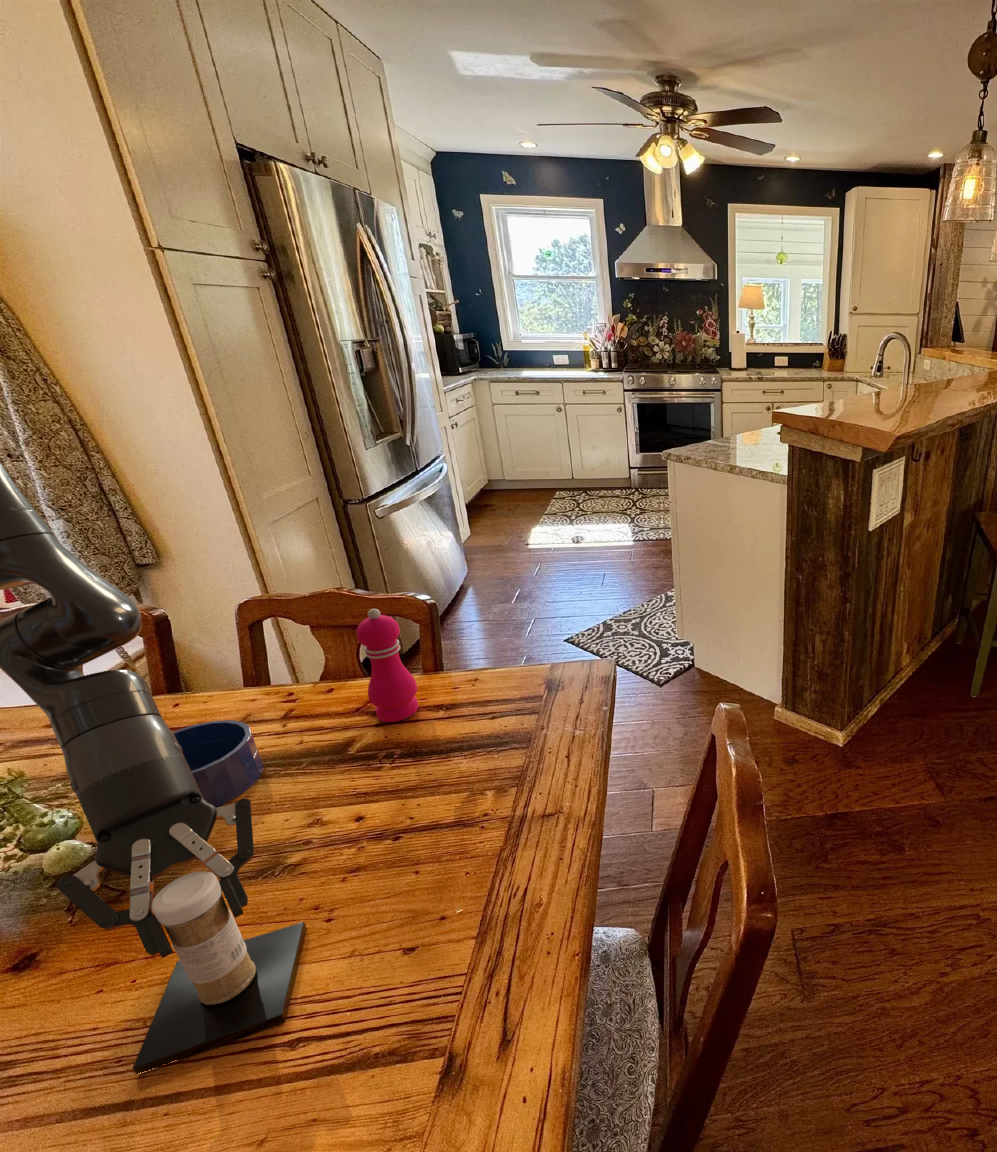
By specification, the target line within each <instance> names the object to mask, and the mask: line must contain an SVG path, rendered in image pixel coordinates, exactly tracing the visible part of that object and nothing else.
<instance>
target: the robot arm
mask: <svg viewBox="0 0 997 1152" xmlns="http://www.w3.org/2000/svg"><path fill="white" fill-rule="evenodd" d="M32 584H35V585H36V586H38V587H40V588H41V589H43V590H45V591H46V592H47V593H48V595H49V596H50V597H48V598H46V599H43V600H41V601H39V602H37V603H35V604H32V605H30V606H28V607H26V608H24V609H22V610H20V611H17V612H14V613H13V614H11V615H8V616H7V617H5V618H3V619H1V620H0V670H1V671H2V672H3V673H4V674H5V675H6V676H7V677H8V678H10V679H11V680H12V681H13V682H14V683H15V684H16V685H17V686H18V687H19V688H20V689H21V690H22V691H23V692H24V693H25V694H26V695H27V696H28V697H29V698H30V699H31V700H32V701H33V702H34V703H35V704H36V705H37V706H38V707H39V708H40V710H41V711H42V712H43V713H44V714H45V715H46V716H47V718H48V720H49V723H50V726H51V729H52V731H53V733H54V736H55V738H56V740H57V743H58V745H59V747H60V749H61V751H62V754H63V758H64V764H65V769H66V773H67V775H68V778H69V781H70V788H71V790H72V791H73V792H74V793H75V795H76V796H77V799H78V801H79V805H80V806H81V808H82V811H83V813H84V815H85V818H86V820H87V823H88V825H89V828H90V830H91V832H92V834H93V837H94V839H95V841H96V844H97V847H96V848H97V849H96V852H95V854H94V860H93V861H92V862H89V864H87V865H85V866H84V867H83V868H81V869H79V870H77V872H75V873H73V874H70V875H65V876H64V877H61V878H60V879H59V880H58V881H57V883H56V888H57V889H58V890H59V891H60V892H61V893H62V894H63V895H64V896H65V897H66V898H68V900H70V901H71V902H72V903H73V904H74V905H75V906H76V907H77V908H78V909H80V911H82V913H84V914H85V915H86V916H87V917H88V918H89V919H90V920H91V921H93V922H94V923H95V924H96V925H97V926H98V927H99V928H101V929H103V930H105V931H113V930H114V931H115V930H116V929H119V928H122V927H126V926H133V927H135V929H136V932H137V934H138V936H139V939H140V941H141V944H142V946H143V948H144V951H145V953H147V954H149V955H150V956H152V957H154V956H156V955H158V954H159V956H160V957H161V958H162V959H165V958H166V957H168V956H169V955H172V954H173V953H174V950H173V946H172V945H171V943H170V941H169V937H168V936H167V934H166V930H165V928H164V926H163V925H162V924H160V923H159V922H158V920H157V918H156V917H155V915H154V912H153V910H152V902H153V899H154V898H153V895H154V887H155V879H158V878H160V877H162V876H164V875H166V874H167V873H168V872H170V871H171V870H173V869H175V868H176V867H179V866H183V865H187V864H189V863H191V862H193V861H195V860H196V861H198V862H199V863H200V864H201V865H202V866H204V867H205V868H207V869H208V870H209V872H211V873H213V874H214V875H215V876H216V877H217V878H218V879H219V880H218V881H219V884H220V887H221V889H222V894H223V895H224V899H225V900H226V902H227V904H228V908H229V910H230V911H231V913H232V915H233V917H234V919H237V918H238V917H241V916H242V915H244V914H245V913H244V910H243V908H245V907H246V906H248V904H249V902H248V901H249V897H248V895H247V892H246V891H245V888H244V886H243V884H242V881H241V879H240V877H239V871H240V870H241V869H242V868H243V867H244V866H245V865H246V864H248V863H249V862H251V861H252V860H253V859H254V857H255V849H254V848H255V847H254V846H255V845H254V832H253V819H252V804H251V800H250V799H249V798H245V797H244V798H240V799H238V800H237V801H236V802H235V803H230V804H226V805H220V806H218V807H216V808H215V807H214V806H213V805H211V804H209V803H208V802H206V801H205V800H204V798H203V796H202V794H201V792H200V790H199V788H198V785H197V783H196V781H195V779H194V777H193V774H192V772H191V770H190V768H189V766H188V764H187V761H186V759H185V757H184V755H183V753H182V748H181V746H180V745H179V744H178V742H177V740H176V738H175V736H174V734H173V733H172V732H173V731H172V729H171V728H170V727H169V726H168V724H167V723H166V721H165V719H164V718H163V716H162V714H161V712H160V709H159V707H158V705H157V703H156V701H155V699H154V697H153V694H152V691H151V690H150V688H149V685H148V683H147V681H146V680H145V678H144V677H143V676H142V675H141V674H139V673H138V672H136V671H133V670H130V669H111V670H110V669H109V670H102V671H98V672H93V673H89V674H84V672H83V670H82V666H84V665H86V664H87V663H89V662H92V661H94V660H96V659H98V658H100V657H102V656H104V655H107V654H108V653H111V652H112V651H115V650H116V649H119V648H121V647H123V646H125V645H126V644H129V643H130V642H132V641H133V640H135V639H136V638H137V637H138V635H140V632H141V629H142V624H143V621H142V620H143V619H142V615H141V611H140V609H139V607H138V605H137V604H136V602H134V600H133V599H132V598H131V597H129V595H128V594H126V593H124V592H123V591H122V590H121V589H119V588H118V587H117V586H115V585H114V584H112V583H111V582H109V581H108V580H107V579H105V578H104V577H103V576H101V575H100V574H98V573H97V572H96V571H94V570H93V569H92V568H91V567H89V566H88V565H87V564H86V563H84V562H83V561H82V560H80V559H79V558H78V557H76V556H75V554H73V553H72V552H71V551H70V550H68V549H67V547H65V546H64V545H63V544H62V543H61V542H60V541H59V539H58V538H57V536H56V535H55V534H54V533H53V531H52V530H51V529H50V527H49V526H48V525H47V523H46V522H45V520H44V519H43V518H42V516H41V515H40V514H39V513H38V512H37V510H36V509H35V508H34V506H32V504H31V502H30V501H29V500H28V499H27V497H26V496H25V495H24V493H23V492H22V491H21V490H20V488H19V487H18V485H17V484H16V482H14V479H13V478H12V477H11V476H10V474H9V472H8V471H7V470H6V468H5V466H4V464H3V462H2V461H1V460H0V591H4V590H11V589H16V588H21V587H24V586H29V585H32ZM218 819H222V820H224V822H225V824H226V826H228V827H235V828H236V847H237V852H236V853H235V854H234V855H233V856H231V858H229V859H227V858H225V857H224V856H223V855H222V854H220V852H218V851H217V850H216V849H215V848H214V847H213V846H212V845H211V844H209V843H208V842H209V839H210V837H211V834H212V832H213V829H214V826H215V824H216V821H217V820H218ZM103 870H107V871H111V872H114V873H117V874H120V875H122V876H126V877H128V878H129V877H130V880H129V881H130V883H129V895H130V897H129V908H128V909H122V910H119V911H116V910H115V909H114V908H112V906H110V905H109V904H108V903H107V902H106V901H105V900H104V899H103V898H102V897H101V896H100V895H98V894H97V892H95V891H96V890H97V889H98V888H100V887H101V883H102V881H101V879H100V874H101V872H102V871H103Z"/></svg>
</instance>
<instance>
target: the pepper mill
mask: <svg viewBox="0 0 997 1152" xmlns="http://www.w3.org/2000/svg"><path fill="white" fill-rule="evenodd" d="M400 634H401V628H400V625H399V623H398V621H396V619H394V618H393V617H392V616H389V615H384V614H381V611H380V610H379V609H377V608H371V609H369V610H368V611H367V618H365V619H364V620H362V621H361V622H360V623H359V624H358V626H357V628H356V639H357V641H358V642H359V644H360V645H362V646H364V648H363V650H364V652H365V654H364V655H365V657H366V658H368V659H369V661H370V665H371V674H370V679H369V683H368V686H367V696H368V701H369V703H370V704H372V705H373V706H374V707H375V708H374V709H375V714H376V718H377V720H378V721H379V720H380V721H379V722H381V721H383V722H382V723H385V722H394V723H397V722H396V721H399V722H401V721H400V720H403V719H405V718H407V717H409V716H411V715H413V714H414V713H415V712H416V711H417V712H418V710H417V708H418V709H419V703H418V698H417V697H416V695H417V693H418V685H417V682H416V679H415V677H414V676H413V675H412V673H411V672H410V671H409V670H408V669H407V667H405V665H404V664H403V662H402V660H401V657H400V652H399V651H400V650H401V645H400V640H399V639H398V638H399V636H400ZM417 712H416V713H417ZM416 713H415V714H416ZM415 714H414V715H415ZM414 715H413V716H414ZM411 717H412V716H411ZM405 720H406V719H405ZM403 721H404V720H403Z"/></svg>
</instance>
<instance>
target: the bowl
mask: <svg viewBox="0 0 997 1152" xmlns="http://www.w3.org/2000/svg"><path fill="white" fill-rule="evenodd" d="M172 733H173V734H174V736H175V738H176V740H177V742H178V744H179V745H180V746H181V748H182V753H183V755H184V757H185V759H186V761H187V764H188V766H189V768H190V770H191V772H192V774H193V777H194V779H195V781H196V783H197V785H198V788H199V790H200V792H201V794H202V796H203V798H204V800H205V801H206V802H208V803H209V804H211V805H213V806H214V807H215V808H217V807H221V806H223V805H224V804H226V803H228V802H230V801H232V800H234V799H235V798H237V797H238V796H240V795H242V794H243V793H245V792H246V791H247V790H248V789H250V788H251V787H252V786H253V785H255V783H256V782H257V781H258V780H259V778H260V777H261V775H262V773H263V771H264V763H263V760H262V757H261V754H260V751H259V748H258V746H257V743H256V740H255V738H254V735H253V733H252V729H251V727H250V726H249V724H246V723H245V722H243V721H239V720H233V719H224V720H212V721H206V722H201V723H195V724H193V725H190V726H187V727H182V728H180V729H176V730H174V731H172Z"/></svg>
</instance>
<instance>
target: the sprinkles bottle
mask: <svg viewBox="0 0 997 1152" xmlns="http://www.w3.org/2000/svg"><path fill="white" fill-rule="evenodd" d="M219 881H220V880H219V878H218V876H216V875H215V874H214V873H213V872H212V871H208V870H200V871H193V872H189V873H187V874H184V875H182V876H179V877H177V878H176V879H174V880H172V881H170V882H169V883H168V884H167V885H165V886H164V887H162V888H161V889H160V890H159V891H158V892H157V893H156V895H155V896H154V898H152V912H153V914H154V915H155V917H156V918H157V920H158V922H159V923H160V924H162V927H163V928H164V930H165V932H166V933H167V935H168V938H169V939H170V942H171V944H172V945H171V946H172V948H173V949H174V952H175V954H176V955H177V957H178V961H179V960H180V962H181V964H182V965H183V967H184V969H185V971H186V973H187V975H188V977H189V979H190V980H191V981H192V982H193V984H194V986H195V988H196V990H197V992H198V998H199V999H200V1001H201V1002H202V1003H204V1004H206V1005H214V1004H220V1003H223V1002H225V1001H228V1000H230V999H232V998H233V997H235V996H236V995H238V994H239V993H240V992H241V991H243V990H244V989H245V988H246V987H247V986H248V985H249V984H250V982H251V981H252V979H253V977H254V975H255V972H256V967H255V964H254V962H253V961H251V959H250V957H249V955H248V953H247V950H246V945H245V942H244V940H245V939H244V938H243V935H242V933H241V931H240V928H239V927H238V924H237V922H236V919H235V918H234V915H233V913H232V911H231V909H230V908H229V906H228V905H227V903H226V901H225V900H226V899H225V897H223V891H222V889H221V887H220V884H219Z"/></svg>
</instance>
